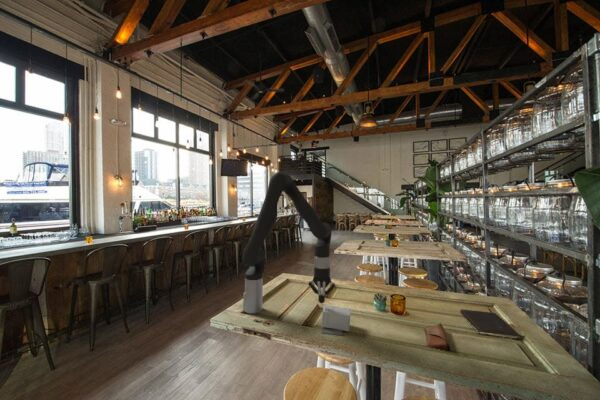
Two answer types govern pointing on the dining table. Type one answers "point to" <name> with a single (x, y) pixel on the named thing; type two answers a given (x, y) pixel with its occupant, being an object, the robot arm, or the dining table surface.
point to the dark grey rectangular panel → (332, 331)
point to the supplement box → (336, 318)
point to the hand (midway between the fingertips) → (321, 302)
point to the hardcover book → (489, 323)
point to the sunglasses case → (437, 337)
